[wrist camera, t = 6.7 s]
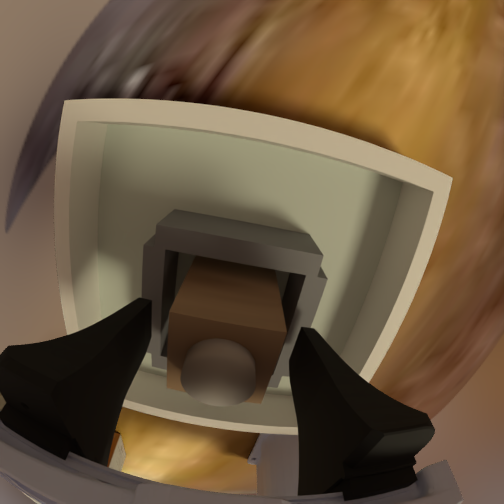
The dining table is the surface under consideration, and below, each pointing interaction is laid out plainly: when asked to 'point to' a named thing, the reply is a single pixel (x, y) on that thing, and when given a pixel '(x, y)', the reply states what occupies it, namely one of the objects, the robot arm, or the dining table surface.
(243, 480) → the dining table surface
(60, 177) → the cream square tray
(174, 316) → the peg
